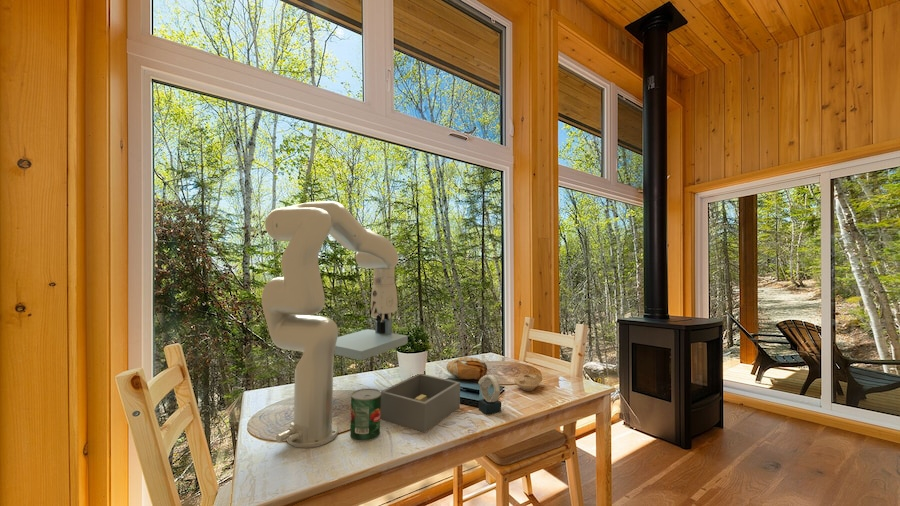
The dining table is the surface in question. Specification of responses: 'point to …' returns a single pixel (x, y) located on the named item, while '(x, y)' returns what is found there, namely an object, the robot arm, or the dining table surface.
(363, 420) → the canned tomato
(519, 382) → the pottery oil lamp
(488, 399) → the stone ring on base
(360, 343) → the lid
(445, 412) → the tub
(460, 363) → the bread loaf
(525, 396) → the dining table surface
